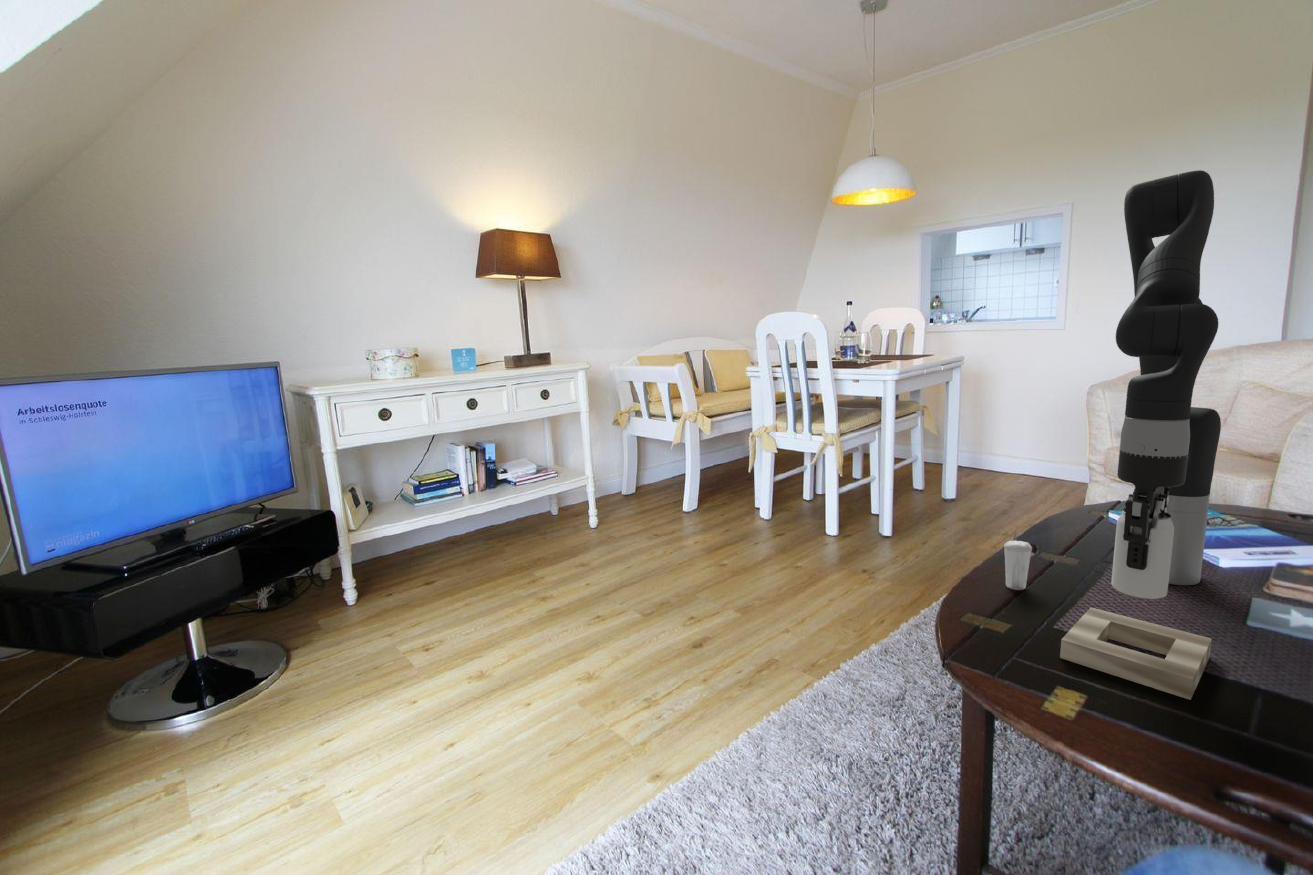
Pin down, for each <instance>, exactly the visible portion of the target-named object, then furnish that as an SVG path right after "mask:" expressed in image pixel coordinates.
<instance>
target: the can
mask: <svg viewBox="0 0 1313 875" xmlns="http://www.w3.org/2000/svg"><path fill="white" fill-rule="evenodd" d="M1125 510H1126V507H1124V508H1122V509H1121V514H1120V515H1119V517H1118V518H1117V521H1116V529H1115V540H1114V547H1113V548H1114V550H1113V561H1112V571H1111V587H1112V588H1113V589H1114V590H1115V591H1116V592H1118V593H1120V594H1121V595H1125V596H1127V597H1131V598H1135V599H1140V600H1148V601H1151V600H1152V601H1158V600H1162V599H1164V598H1165V597H1166V596H1168V595H1167V594H1168V589H1169V584H1168V583H1169V574H1170V565H1171V556H1172V547H1173V537H1174V525H1173V523H1172V521H1171V517H1172V515H1171V514H1169V513H1167V512H1165V515H1163V514H1160V517H1159V519H1158V526H1157V529H1155V530H1152V531H1151V539H1150V540H1151V543H1149V549H1148V559H1147V567H1146V568H1145V569H1144V570H1139V569H1134V568H1130V567H1128V566H1127V565H1126V561H1127V551H1128V542H1127V541H1125V540H1124V538H1123V534H1124V525H1125ZM1152 520H1153V518H1149V522H1151V521H1152ZM1133 533H1135V534H1141V535H1142V529H1141V528H1140V527H1134V531H1133Z"/></svg>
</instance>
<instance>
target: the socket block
mask: <svg viewBox="0 0 1313 875" xmlns="http://www.w3.org/2000/svg"><path fill="white" fill-rule="evenodd" d="M1109 640H1111V641H1115V642H1119V643H1122V644H1125V645H1129V646H1132V647H1136V648H1138V649H1143V650H1147V651H1151V652H1153V653H1156V654H1160V655H1164V656H1166V657H1165V658H1163V657H1162V658H1161V657H1158V656H1156V655H1152V654H1151V655H1150V654H1148V653H1144V652H1140V651H1137V650H1134V649H1130V648H1127V647H1123V646H1120V645H1116V644H1113V643H1110V642H1108V641H1109ZM1212 642H1213V641H1212V638H1210V637H1206V636H1203V635H1199V634H1195V633H1192V632H1188V631H1184V630H1180V629H1175V628H1173V627H1169V626H1164V625H1161V624H1157V623H1153V622H1149V621H1145V620H1143V619H1142V620H1141V619H1137V618H1134V617H1129V616H1125V615H1121V614H1119V613H1113V612H1111V611H1106V610H1102V609H1098V608H1096V607H1095V608H1094V607H1089V609H1087V610H1086V612H1085V613H1084V614H1083V615H1081V617H1080V618H1079V619H1078V621H1077V622H1076V623H1075V624H1074V625H1073V626H1072V627H1071V628H1070V629H1069V631H1068V632H1067V633H1066V634H1065V635H1064V636H1063V637H1062V638H1061V640H1060V651H1059V652H1060V653H1059V658H1060V659H1062V660H1065V661H1069V662H1071V663H1074V664H1078V665H1081V666H1084V667H1086V668H1090V669H1093V670H1097V671H1100V672H1102V673H1106V674H1109V675H1111V676H1115V677H1119V678H1122V679H1124V680H1127V681H1131V682H1134V683H1136V684H1140V685H1143V686H1145V687H1150V688H1153V689H1155V690H1157V691H1161V692H1165V693H1168V694H1171V695H1173V696H1177V697H1180V698H1184V699H1186V700H1190V701H1191V700H1192V698H1193V695H1194V693H1195V691H1196V689H1197V687H1198V684H1199V682H1200V681H1201V678H1202V675H1203V673H1204V672H1205V669H1206V666H1207V664H1208V662H1209V660H1210V656H1211V648H1212Z"/></svg>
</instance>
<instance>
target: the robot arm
mask: <svg viewBox="0 0 1313 875" xmlns="http://www.w3.org/2000/svg"><path fill="white" fill-rule="evenodd" d="M1123 206H1124V208H1123V212H1124V215H1123V216H1124V221H1125V230H1126V236H1127V242H1128V243H1127V244H1128V250H1129V257H1130V262H1131V270H1132V277H1133V290H1134V291H1133V292H1134V299H1133V300H1131V302H1130V304H1129V306H1128V307H1127V308H1126V309H1125V311H1124V312H1123V314H1122V316H1121V318H1120V320H1119V322H1118V324H1117V327H1116V331H1115V343H1116V346H1117V347H1118V349H1119V350H1120V351H1121V352H1122V353H1123V354H1125V355H1127V356H1129V357H1131V358H1138V361H1139V369H1140V370H1139V371H1140V375H1137V376H1134V377H1132V378H1131V379H1130V380H1129V382H1128V384H1127V388H1126V389H1127V390H1126V401H1125V411H1124V418H1123V424H1122V428H1121V432H1120V444H1119V455H1118V464H1117V474H1116V475H1117V479H1119V480H1120V481H1122V482H1125V483H1129V484H1132V485H1134V487H1135V488H1134V490H1133V492H1132V493H1129V494H1128V498H1127V499H1126V501H1125V503H1124V506H1125V508H1126V510H1125V525H1124V534H1123V538H1124V540H1125V541H1127V542H1128V551H1127V561H1126V565H1127V566H1128V567H1130V568H1134V569H1139V570H1144V569H1145V568H1146V567H1147V559H1148V549H1149V543H1151V540H1150V539H1151V531H1152V530H1155V529H1157V526H1158V519H1159V517H1160V514H1163V515H1165V512H1167V513H1169V514H1171V515H1172V517H1171V521H1172V523H1173V525H1174V537H1173V547H1172V556H1171V565H1170V574H1169V583H1168V585H1176V586H1193V585H1197V584H1199V583H1200V582H1201V576H1202V567H1203V559H1204V550H1205V543H1206V542H1205V541H1206V533H1207V525H1208V524H1207V523H1208V514H1209V507H1210V506H1209V504H1210V503H1209V502H1210V496H1211V489H1212V488H1211V487H1212V482H1213V477H1214V470H1215V464H1216V463H1215V462H1216V456H1217V452H1218V451H1217V450H1218V447H1219V443H1220V438H1221V437H1220V436H1221V431H1222V430H1221V429H1222V427H1221V426H1222V422H1221V421H1222V420H1221V416H1220V414H1219V413H1218V411H1217V410H1216V409H1215V408H1207V407H1199V406H1198V407H1195V406H1192V401H1193V400H1192V399H1193V393H1194V386H1195V384H1196V380H1197V376H1198V374H1199V371H1200V369H1201V367H1202V364H1203V362H1204V360H1205V358H1206V356H1207V354H1208V352H1209V350H1210V348H1211V347H1212V344H1213V342H1214V340H1215V338H1216V336H1217V332H1218V329H1219V318H1218V315H1217V313H1216V311H1215V310H1214V309H1213V308H1212V307H1210V306H1209V305H1208V304H1204V303H1203V302H1202V300H1201V298H1200V294H1201V293H1200V292H1201V291H1200V290H1201V262H1202V256H1203V253H1204V249H1205V247H1206V246H1205V245H1206V243H1207V240H1208V236H1209V233H1210V232H1209V231H1210V228H1211V224H1212V221H1213V216H1214V210H1215V189H1214V182H1213V180H1212V176H1211V175H1210V174H1209V173H1208V172H1207V171H1205V170H1201V169H1200V170H1199V169H1198V170H1191V171H1186V172H1182V173H1179V174H1177V173H1176V174H1173V175H1169V176H1164V177H1161V178H1156V179H1153V180H1148V181H1143V182H1140V183H1137V184H1133V185H1132V186H1130V188H1128V190H1127V191H1126V193H1125V197H1124V204H1123ZM1165 236H1167V237H1166V238H1165V239H1164V240H1162V241H1161V242H1160V243H1159V244H1158V245H1157V246H1155V244H1154V242H1153V239H1154V238H1160V237H1165ZM1149 518H1153V520H1152V521H1151V522H1149ZM1134 527H1140V528H1141V529H1142V535H1141V534H1135V533H1133V531H1134Z"/></svg>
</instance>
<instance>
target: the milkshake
mask: <svg viewBox="0 0 1313 875" xmlns="http://www.w3.org/2000/svg"><path fill="white" fill-rule="evenodd" d="M1012 533H1013V535H1012V536H1013V540H1008V541H1006V542H1005V543H1004V544H1003V549H1004V550H1003V552H1004V568H1005V574H1004V575H1005V586H1006V588H1008V589H1010V590H1015V591H1024V590H1025V589H1026V588H1027V582H1028V575H1029V569H1030V568H1029V567H1030V561H1031V558H1032V557H1031V556H1032V551H1033V547H1032V546H1031V544H1030V543H1029V542H1027V541H1022V540H1017V532H1016V531H1013V532H1012Z"/></svg>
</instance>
